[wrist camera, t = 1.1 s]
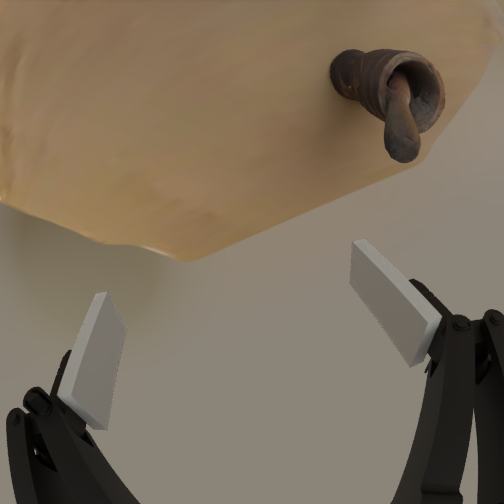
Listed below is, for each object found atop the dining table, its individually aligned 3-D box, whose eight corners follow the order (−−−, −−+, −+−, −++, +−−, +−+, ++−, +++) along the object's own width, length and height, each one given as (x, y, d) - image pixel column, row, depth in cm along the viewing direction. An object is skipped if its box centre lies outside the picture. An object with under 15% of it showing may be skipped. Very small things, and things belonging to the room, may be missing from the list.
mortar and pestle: (342, 131, 34) (435, 208, 19) (296, 93, 30) (384, 146, 15) (390, 75, 29) (503, 121, 14) (348, 33, 25) (468, 43, 10)
